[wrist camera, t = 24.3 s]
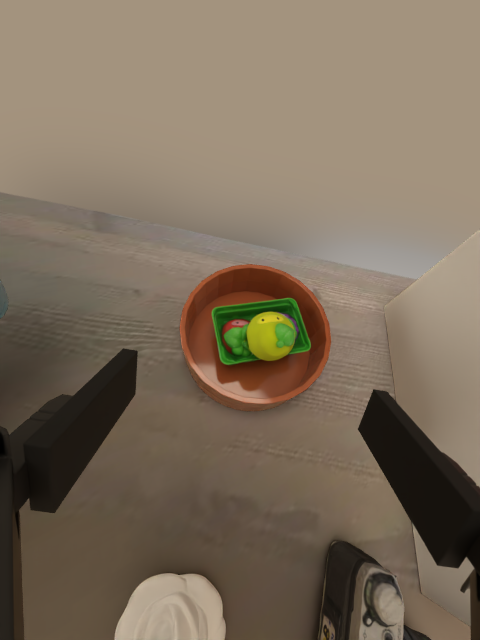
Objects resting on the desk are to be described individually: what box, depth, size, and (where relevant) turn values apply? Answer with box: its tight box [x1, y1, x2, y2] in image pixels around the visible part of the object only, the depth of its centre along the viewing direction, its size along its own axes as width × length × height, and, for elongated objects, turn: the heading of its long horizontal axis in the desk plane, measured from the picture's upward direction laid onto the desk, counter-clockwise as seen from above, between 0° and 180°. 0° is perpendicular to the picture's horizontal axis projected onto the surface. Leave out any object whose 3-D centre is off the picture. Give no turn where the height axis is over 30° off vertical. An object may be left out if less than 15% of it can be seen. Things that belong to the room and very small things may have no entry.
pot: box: [180, 264, 331, 411], centre depth 34 cm, size 18×18×6 cm
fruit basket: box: [212, 298, 311, 365], centre depth 31 cm, size 11×9×11 cm
